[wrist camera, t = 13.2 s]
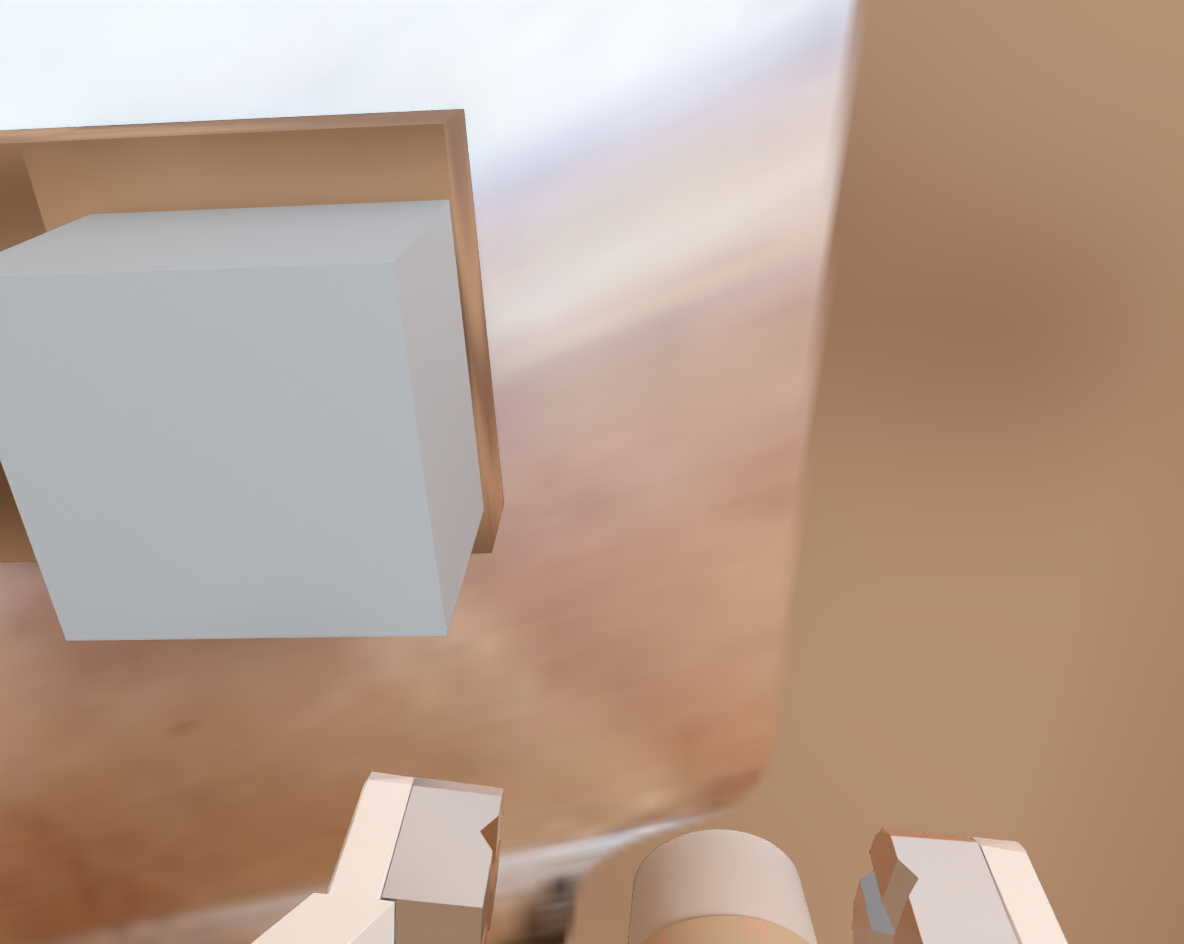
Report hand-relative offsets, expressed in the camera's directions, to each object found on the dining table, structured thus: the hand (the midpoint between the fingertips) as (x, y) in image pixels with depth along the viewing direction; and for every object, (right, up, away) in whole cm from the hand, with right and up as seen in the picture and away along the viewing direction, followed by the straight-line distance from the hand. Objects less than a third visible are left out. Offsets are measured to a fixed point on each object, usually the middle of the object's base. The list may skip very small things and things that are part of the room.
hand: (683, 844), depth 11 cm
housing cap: (-9, +7, +15) cm, 18 cm away
